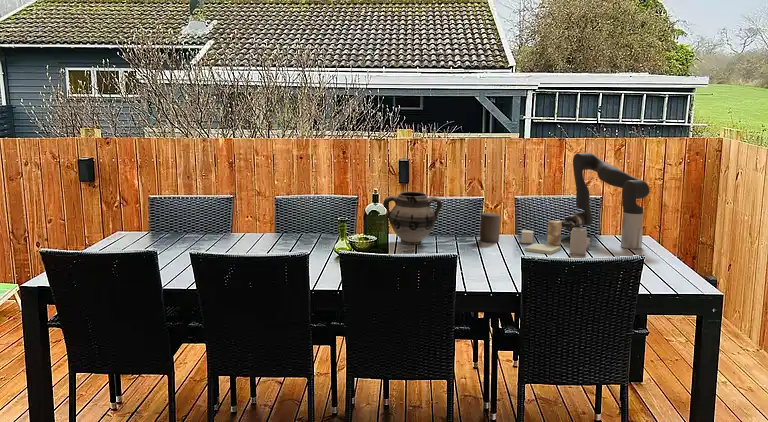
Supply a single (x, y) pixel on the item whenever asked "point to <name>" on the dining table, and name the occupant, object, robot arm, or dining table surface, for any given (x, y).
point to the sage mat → (542, 248)
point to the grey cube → (527, 236)
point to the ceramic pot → (412, 216)
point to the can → (578, 241)
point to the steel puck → (588, 243)
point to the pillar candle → (490, 227)
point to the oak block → (554, 233)
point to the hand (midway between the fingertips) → (562, 227)
